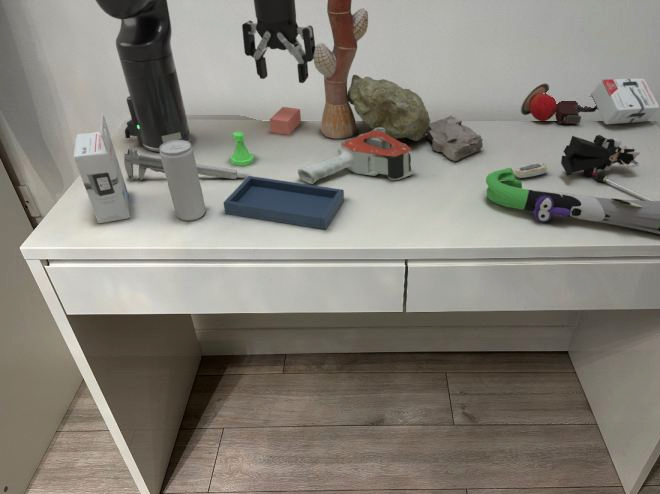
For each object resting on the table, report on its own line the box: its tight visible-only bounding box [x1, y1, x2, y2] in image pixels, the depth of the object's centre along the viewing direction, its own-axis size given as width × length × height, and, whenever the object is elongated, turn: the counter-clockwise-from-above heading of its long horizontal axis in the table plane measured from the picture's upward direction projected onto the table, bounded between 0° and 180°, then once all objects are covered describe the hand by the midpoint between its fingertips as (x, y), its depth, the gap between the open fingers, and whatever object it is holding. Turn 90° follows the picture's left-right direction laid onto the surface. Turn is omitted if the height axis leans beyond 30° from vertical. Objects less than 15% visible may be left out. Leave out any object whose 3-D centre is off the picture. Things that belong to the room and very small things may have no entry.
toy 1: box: [485, 167, 660, 235], centre depth 92 cm, size 6×11×30 cm
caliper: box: [123, 145, 245, 182], centre depth 98 cm, size 20×1×6 cm, turn 94°
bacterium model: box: [513, 163, 551, 179], centre depth 102 cm, size 12×2×5 cm
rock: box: [347, 74, 431, 141], centre depth 114 cm, size 15×19×15 cm
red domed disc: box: [520, 82, 557, 122], centre depth 122 cm, size 8×8×6 cm
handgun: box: [554, 101, 598, 125], centre depth 127 cm, size 24×3×15 cm
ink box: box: [590, 77, 660, 125], centre depth 122 cm, size 8×5×12 cm
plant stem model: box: [313, 0, 369, 140], centre depth 107 cm, size 10×7×30 cm
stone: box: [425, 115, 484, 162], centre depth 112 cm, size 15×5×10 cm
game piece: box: [230, 131, 255, 167], centre depth 104 cm, size 4×4×6 cm
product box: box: [73, 112, 131, 224], centre depth 87 cm, size 9×5×15 cm, turn 21°
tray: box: [222, 175, 345, 230], centre depth 93 cm, size 18×10×2 cm, turn 75°
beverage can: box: [159, 140, 207, 222], centre depth 87 cm, size 5×5×12 cm
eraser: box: [269, 106, 302, 136], centre depth 117 cm, size 4×7×3 cm, turn 165°
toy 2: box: [560, 134, 655, 201], centre depth 97 cm, size 8×20×15 cm
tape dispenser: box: [297, 127, 414, 185], centre depth 103 cm, size 18×5×20 cm
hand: (283, 79), depth 111 cm, fingers open, 8 cm apart
